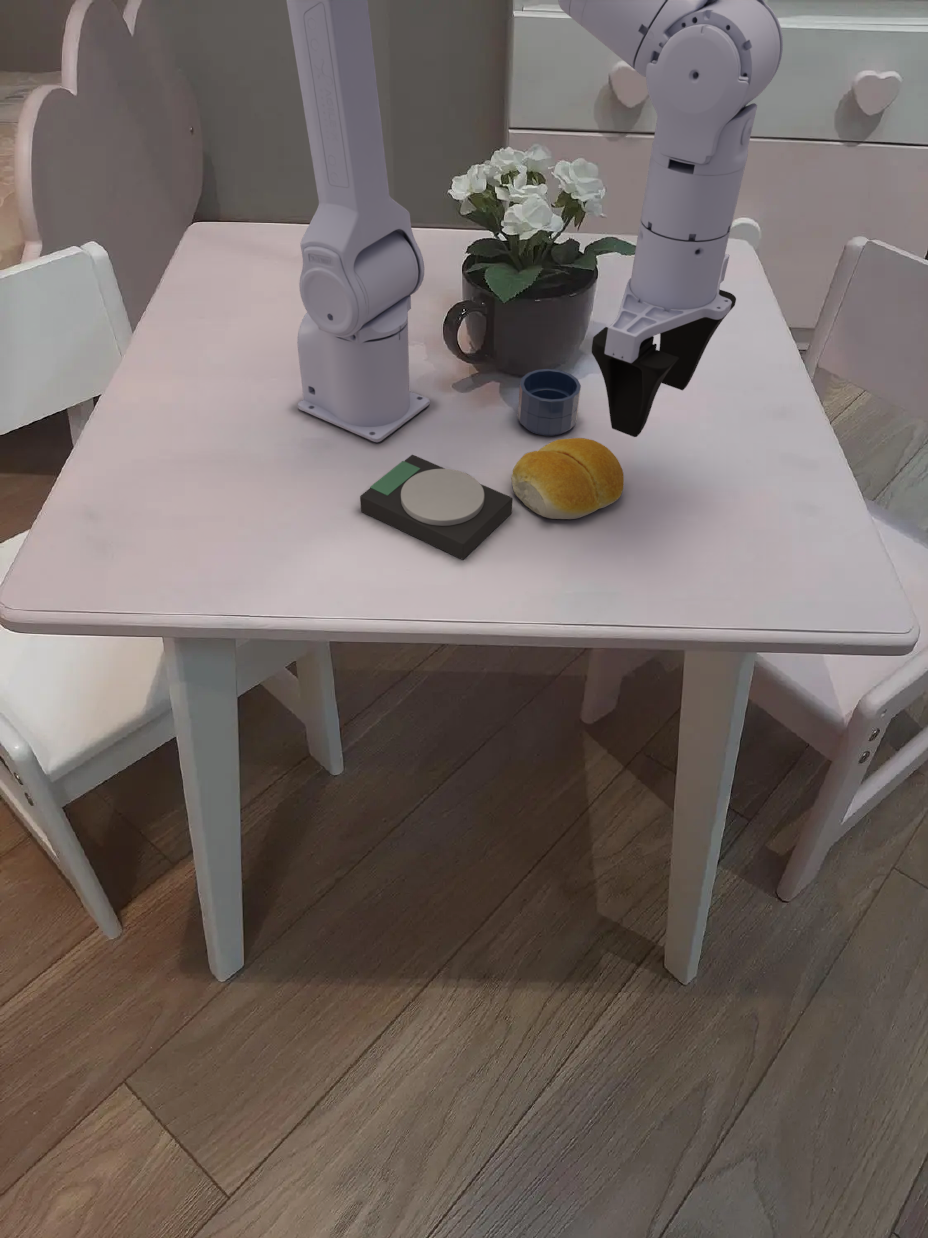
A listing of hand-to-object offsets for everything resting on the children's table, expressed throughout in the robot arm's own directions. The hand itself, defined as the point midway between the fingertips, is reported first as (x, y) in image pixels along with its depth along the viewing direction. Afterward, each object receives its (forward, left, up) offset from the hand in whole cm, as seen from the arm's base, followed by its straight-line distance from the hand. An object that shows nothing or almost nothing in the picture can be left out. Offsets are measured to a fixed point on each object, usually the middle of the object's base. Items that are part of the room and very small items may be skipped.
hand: (649, 406), depth 69 cm
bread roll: (-5, -1, -10) cm, 11 cm away
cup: (-12, +7, -10) cm, 17 cm away
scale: (-13, -9, -10) cm, 19 cm away
